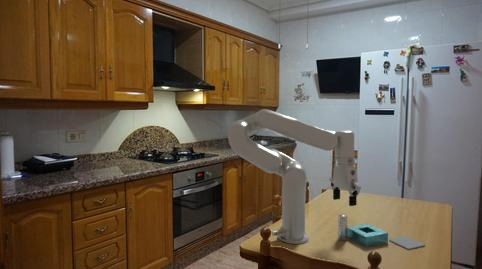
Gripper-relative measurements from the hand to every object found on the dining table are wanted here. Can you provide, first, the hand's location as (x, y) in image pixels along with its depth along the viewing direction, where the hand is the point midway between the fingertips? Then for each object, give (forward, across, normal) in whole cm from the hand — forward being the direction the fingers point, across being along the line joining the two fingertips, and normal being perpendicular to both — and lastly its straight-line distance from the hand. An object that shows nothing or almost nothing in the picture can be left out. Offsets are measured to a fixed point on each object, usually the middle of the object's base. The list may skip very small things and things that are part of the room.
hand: (344, 202), depth 127 cm
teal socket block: (+16, -4, -8) cm, 18 cm away
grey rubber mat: (+16, -13, -20) cm, 29 cm away
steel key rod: (+16, 0, +1) cm, 16 cm away
